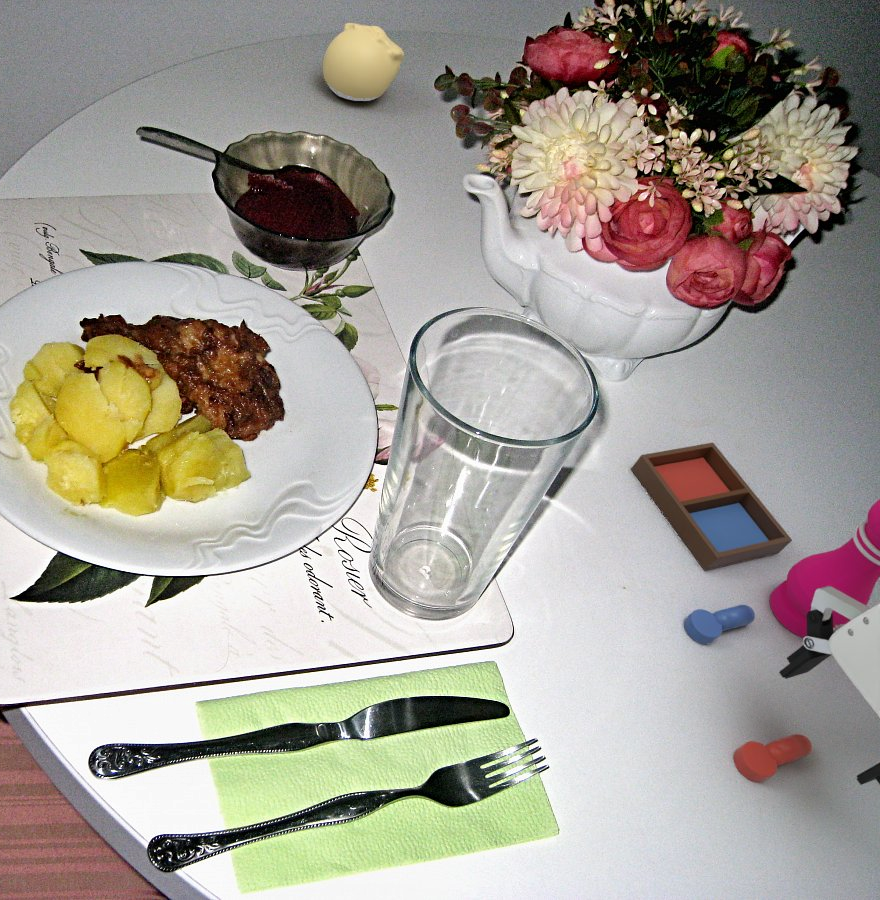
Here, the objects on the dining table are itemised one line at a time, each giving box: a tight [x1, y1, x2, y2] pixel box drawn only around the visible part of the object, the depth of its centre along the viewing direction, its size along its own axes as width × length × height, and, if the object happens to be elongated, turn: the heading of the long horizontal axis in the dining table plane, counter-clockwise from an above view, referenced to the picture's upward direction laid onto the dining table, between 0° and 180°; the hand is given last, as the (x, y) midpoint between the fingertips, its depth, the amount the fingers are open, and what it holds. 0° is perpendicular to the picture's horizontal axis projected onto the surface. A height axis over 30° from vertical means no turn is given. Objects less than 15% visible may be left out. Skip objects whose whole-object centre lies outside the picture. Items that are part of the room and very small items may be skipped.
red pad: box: [655, 458, 748, 513], centre depth 102 cm, size 10×7×2 cm
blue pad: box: [689, 503, 769, 553], centre depth 98 cm, size 9×6×1 cm, turn 109°
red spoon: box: [733, 733, 813, 783], centre depth 81 cm, size 8×3×2 cm, turn 109°
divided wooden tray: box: [630, 442, 793, 572], centre depth 100 cm, size 11×14×2 cm
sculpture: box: [322, 22, 405, 99], centre depth 146 cm, size 12×12×11 cm
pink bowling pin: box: [769, 498, 880, 638], centre depth 86 cm, size 7×7×20 cm
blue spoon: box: [683, 604, 756, 645], centre depth 90 cm, size 8×3×2 cm, turn 109°
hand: (829, 722), depth 77 cm, fingers open, 9 cm apart
